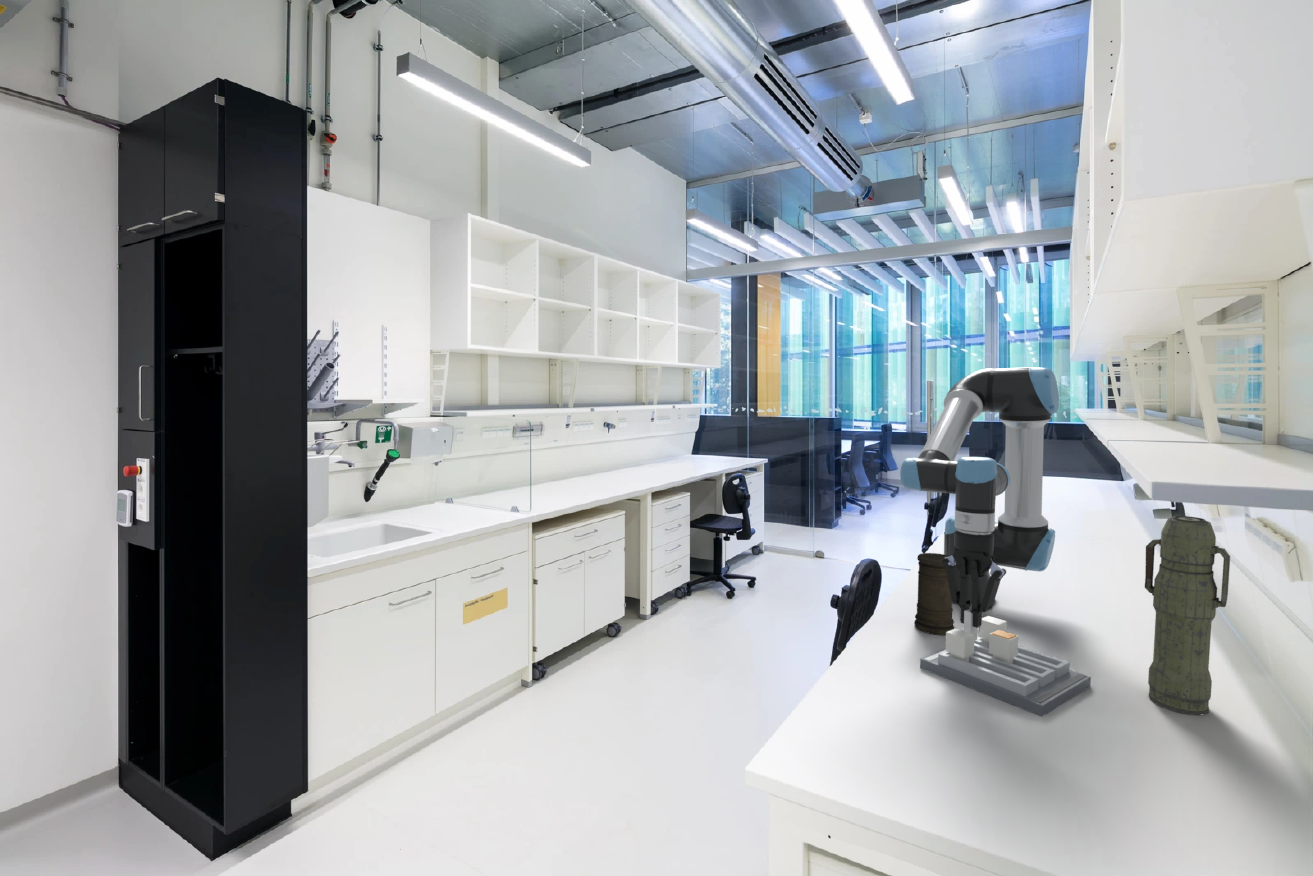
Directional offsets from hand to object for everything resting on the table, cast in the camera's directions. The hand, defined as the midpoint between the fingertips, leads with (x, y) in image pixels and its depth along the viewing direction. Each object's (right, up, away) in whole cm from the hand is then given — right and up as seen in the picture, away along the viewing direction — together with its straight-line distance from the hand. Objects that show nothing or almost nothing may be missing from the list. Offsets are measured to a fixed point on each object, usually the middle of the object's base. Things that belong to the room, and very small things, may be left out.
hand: (970, 640), depth 132 cm
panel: (+4, -6, -5) cm, 9 cm away
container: (+2, -4, +21) cm, 22 cm away
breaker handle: (+4, -4, -5) cm, 8 cm away
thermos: (+31, -7, -16) cm, 35 cm away
